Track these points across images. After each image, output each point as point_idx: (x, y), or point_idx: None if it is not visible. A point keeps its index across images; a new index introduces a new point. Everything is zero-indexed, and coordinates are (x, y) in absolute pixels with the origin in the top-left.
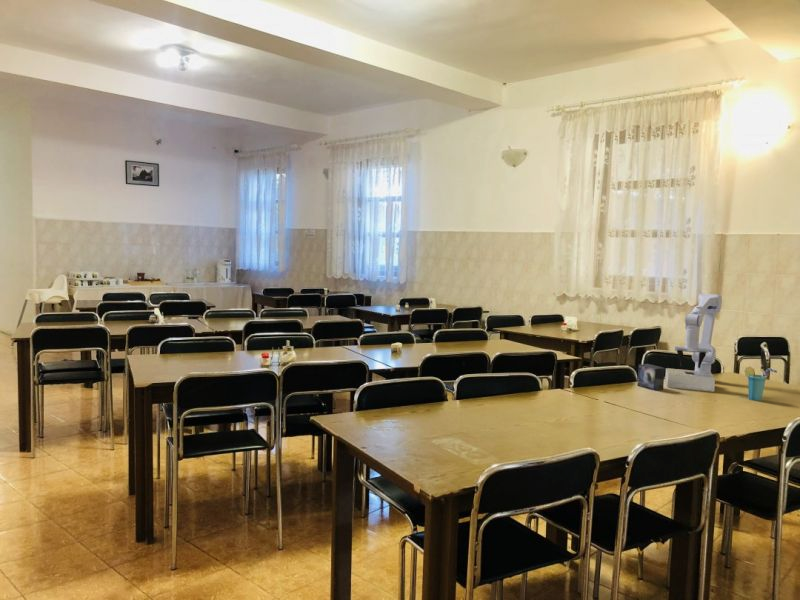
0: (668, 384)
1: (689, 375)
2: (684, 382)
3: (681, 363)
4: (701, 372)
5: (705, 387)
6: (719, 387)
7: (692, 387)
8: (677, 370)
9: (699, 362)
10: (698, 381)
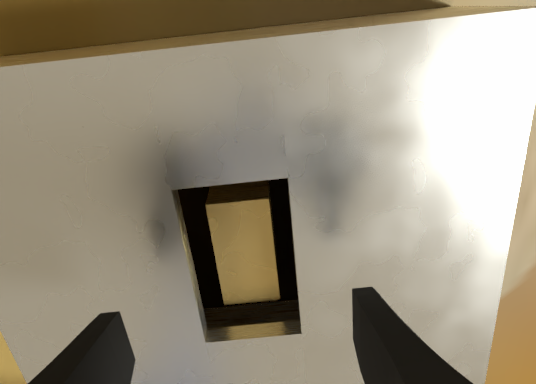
0: (458, 7)
1: (238, 71)
2: (293, 27)
3: (385, 311)
4: None
5: (67, 51)
6: None
7: (203, 34)
8: None
9: (67, 374)
10: (125, 48)
